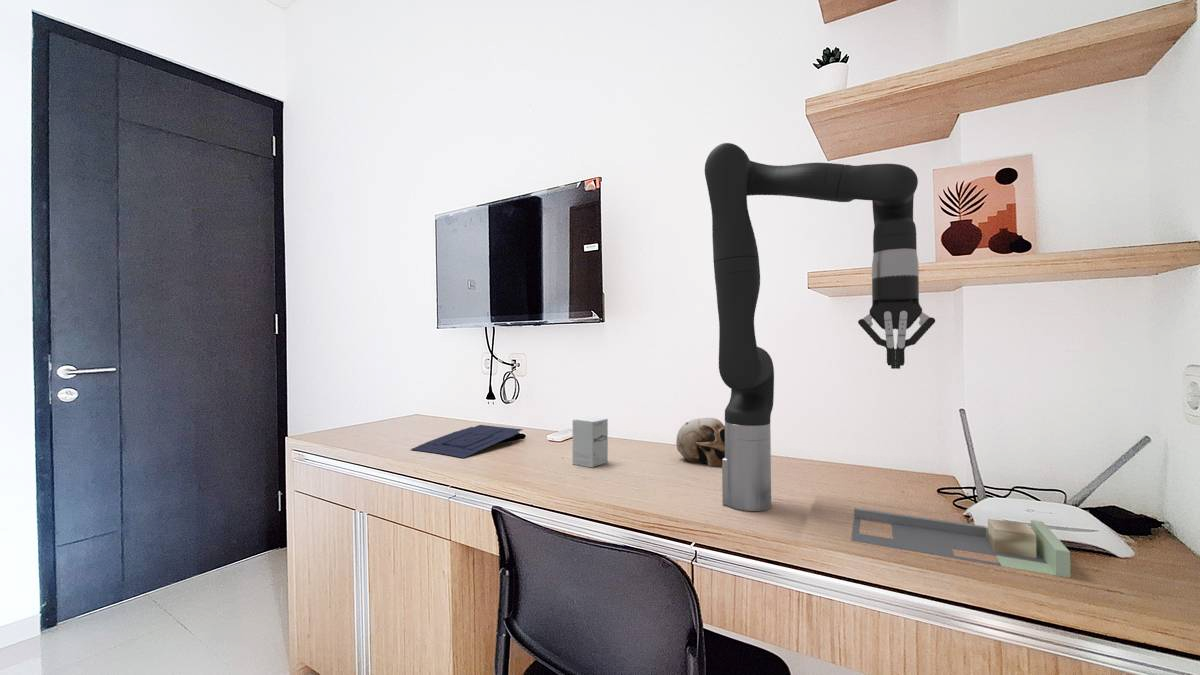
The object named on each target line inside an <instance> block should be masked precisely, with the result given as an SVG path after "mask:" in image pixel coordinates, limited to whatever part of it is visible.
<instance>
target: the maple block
mask: <svg viewBox="0 0 1200 675" xmlns="http://www.w3.org/2000/svg"><path fill="white" fill-rule="evenodd" d="M987 527H988V541H989V543H990V544H991V546H992V548H993V550H994V552H1000V553H1007V554H1013V555H1019V556H1025V557H1032V558H1036V534H1035V533H1034V532H1033V530H1032V529H1031V526H1029V524H1028V523H1023V522H1016V521H1015V522H1014V521H1008V520H1000V519H993V518H987Z"/></svg>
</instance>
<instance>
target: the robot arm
mask: <svg viewBox="0 0 1200 675" xmlns="http://www.w3.org/2000/svg"><path fill="white" fill-rule="evenodd" d="M704 176H705V181H706V186H707V192H708V197H709V198H708V199H709V202H710V209H711V219H712V220H711V224H712V225H711V227H712V230H711V231H712V232H711V233H712V254H713V255H712V258H713V260H712V261H713V269H714V270H713V271H714V283H715V292H716V293H715V294H716V303H717V313H718V324H719V325H718V327H719V330H718V331H719V332H718V334H719V338H718V339H719V340H718V371H719V374H720V375H719V376H720V378H721V380H722V382H723V383H724V384H725V385H726V386H727V387H728V388H729V389H730V391H731V392H730V398H729V402H728V404H727V405H726V407H725V409H724V426H725V458H723V460H722V467H721V470H722V471H721V472H722V474H721V475H722V476H721V477H722V478H721V479H722V487H721V489H722V505H723V506H728V507H731V508H733V509H736V510H740V511H746V512H747V511H748V512H760V511H766V510H769V509H770V508H772V456H771V455H772V454H771V453H772V451H771V449H772V448H771V447H772V446H771V441H772V440H771V436H772V434H771V417H772V416H771V415H772V411H773V409H774V408H773V407H774V401H775V400H774V397H775V396H774V394H775V392H774V390H775V368H774V362H773V359H772V357H771V355H770V354H769V353H768V351H766V350H765V349H764V348H762V347H760V346H758V345H757V339H756V331H755V316H756V315H755V314H756V309H757V308H756V307H757V303H758V300H759V299H758V298H759V293H760V289H761V270H760V257H759V250H758V244H757V240H756V235H755V233H754V228H753V225H752V221H751V217H750V214H749V208H748V198H747V197H748V196H779V197H780V196H783V197H794V198H802V199H803V198H804V199H811V200H819V201H827V202H828V201H829V202H836V203H849V202H852V201H855V200H860V201H861V200H862V201H872V204H871V205H872V215H873V234H872V235H873V237H872V238H873V239H872V244H873V245H872V248H873V250H872V253H873V254H872V255H873V256H872V264H871V298H872V299H871V300H872V301H871V307H870V308H869V314H867V315H866V316H865V317H863V318H860V319H859V320H858V321H857V324H858V325H859V326H860V327H861V328H862V329H863V330H864V332H865V333H866V334H867V335H868V336H869V337H870V338H871V339H872V340H873V341H874V343H875V344H876V345H878V346H881V347H884V348H886V364H887V366H890V369H894V370H900V369H901V367H902V366H904V365H905V349H906V348H907V347H910V346H914V345H916V344H917V342H919V341H920V339H921V338H922V337H923V336H924V335H925V334H926V333H927V332H928V330H930V329H931V327H932V326H933V325H934V324H935V323H936V319H935V318H934V317H931V316H929V315H928V314H926V313H924V312H923V307H921V305H920V298H919V296H920V295H919V294H920V289H919V287H920V286H919V284H920V283H919V282H920V280H919V279H920V278H919V274H920V271H919V270H920V269H919V259H918V258H919V257H918V253H917V249H918V248H917V227H916V223H915V221H914V197H915V192H916V191H917V189H918V188H917V187H918V183H919V181H918V176H917V174H916V172H915V171H914V170H913V169H912V168H911V167H908V166H906V165H903V164H898V163H873V164H862V165H861V164H859V165H852V164H843V163H832V162H831V163H830V162H807V163H806V162H805V163H798V164H790V165H772V164H765V163H761V162H757V161H752V160H750V158H749V156H748V154H747V153H746V152H745V151H744V150H743V149H742V147H740V146H739V145H737V144H735V143H731V142H730V143H729V142H724V143H720V144H718V145H716V146H715V147H714V148H713V149H712V150H711V151H710V152H709V154H708V156H707V158H706V161H705V164H704ZM918 318H919V320H918V325H919V327H918V328H917V330H916V331H915V332H914V333H913V334H912V335H911V336H910V338H906V336H907V330H908V329H909V328H910V329H911V327H912V325H913V324H914V323H915V322H916V321H917V319H918ZM872 319H873V321H875V323H876V324H877V325H878V326H879V327H880V328H881V329H883V330H884V332H885V333H884V334H885V339H883V338H881V336H880V335H879V334H878V333H877V332H875V330H874V328H872V327H873V324H874V323H873V321H872ZM894 330H897V339H896V340H897V341H896V348H895V340H894V337H895V336H894Z"/></svg>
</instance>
